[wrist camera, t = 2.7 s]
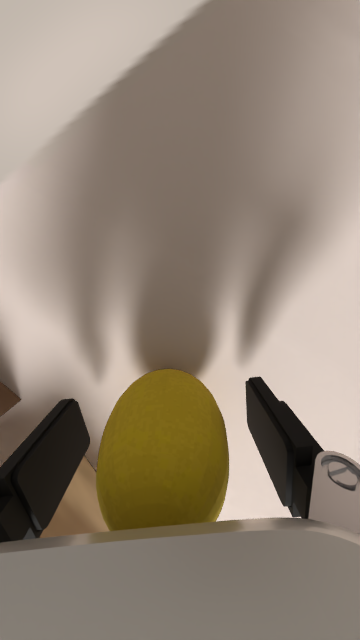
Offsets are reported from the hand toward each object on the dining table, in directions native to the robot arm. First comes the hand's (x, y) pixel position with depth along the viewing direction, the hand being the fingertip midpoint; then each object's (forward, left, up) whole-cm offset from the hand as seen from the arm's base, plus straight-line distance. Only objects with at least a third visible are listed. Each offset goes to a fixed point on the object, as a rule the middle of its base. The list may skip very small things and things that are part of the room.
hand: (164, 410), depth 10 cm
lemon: (0, 0, -3) cm, 3 cm away
